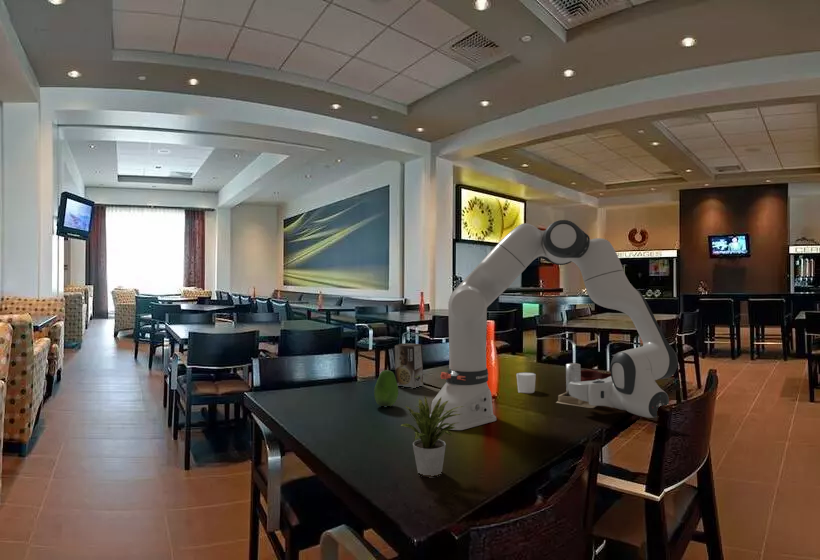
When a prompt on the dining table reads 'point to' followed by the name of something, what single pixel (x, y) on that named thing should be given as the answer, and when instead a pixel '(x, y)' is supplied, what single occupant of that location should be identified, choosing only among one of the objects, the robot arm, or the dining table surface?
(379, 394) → the avocado
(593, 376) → the ashtray
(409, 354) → the coffee box
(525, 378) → the white cup
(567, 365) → the peg
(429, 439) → the house plant
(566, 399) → the rail board
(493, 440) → the dining table surface
